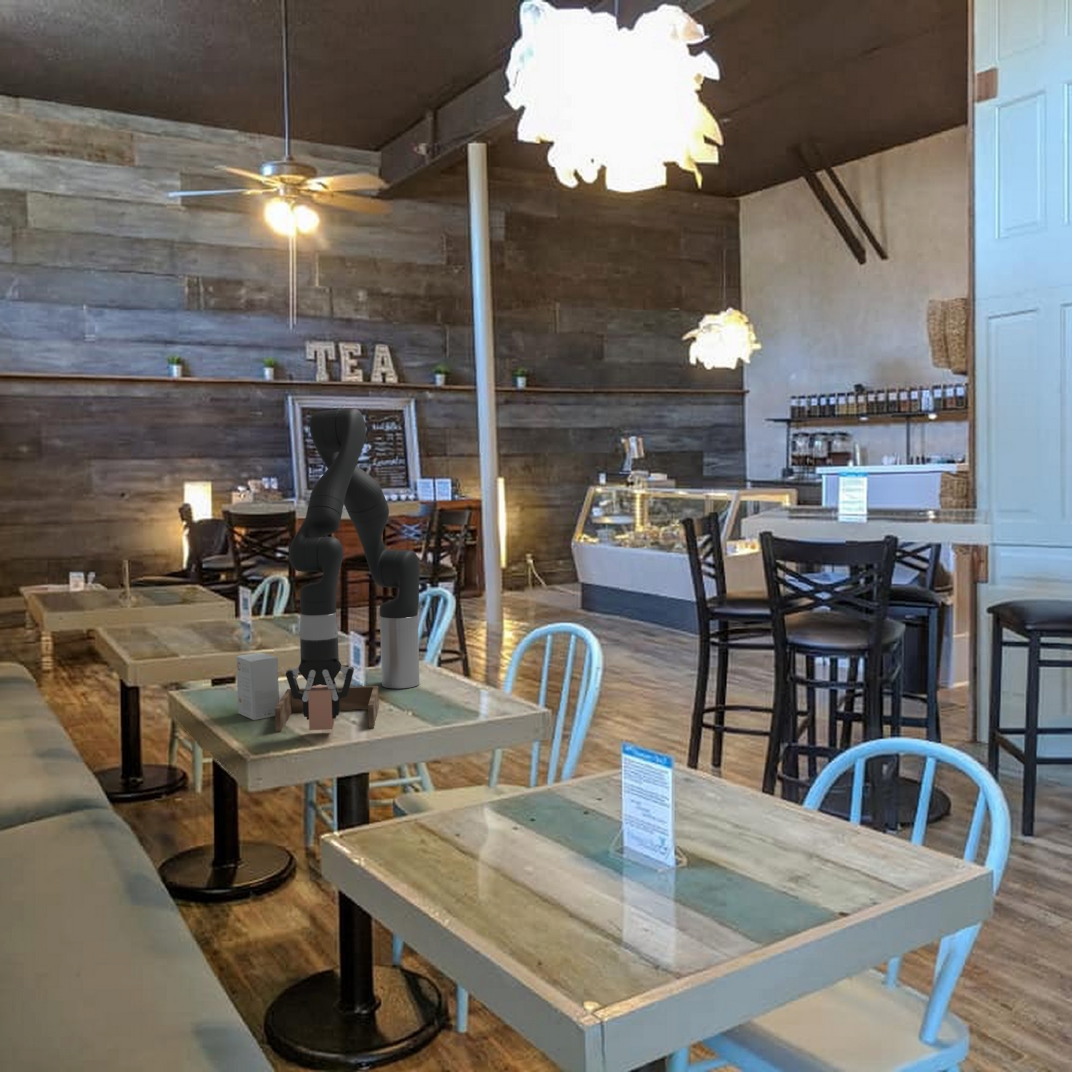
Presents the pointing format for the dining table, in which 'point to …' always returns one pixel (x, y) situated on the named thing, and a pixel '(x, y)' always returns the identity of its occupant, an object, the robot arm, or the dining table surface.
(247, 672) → the small box
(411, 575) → the robot arm
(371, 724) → the u-shaped bracket
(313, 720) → the terracotta block
